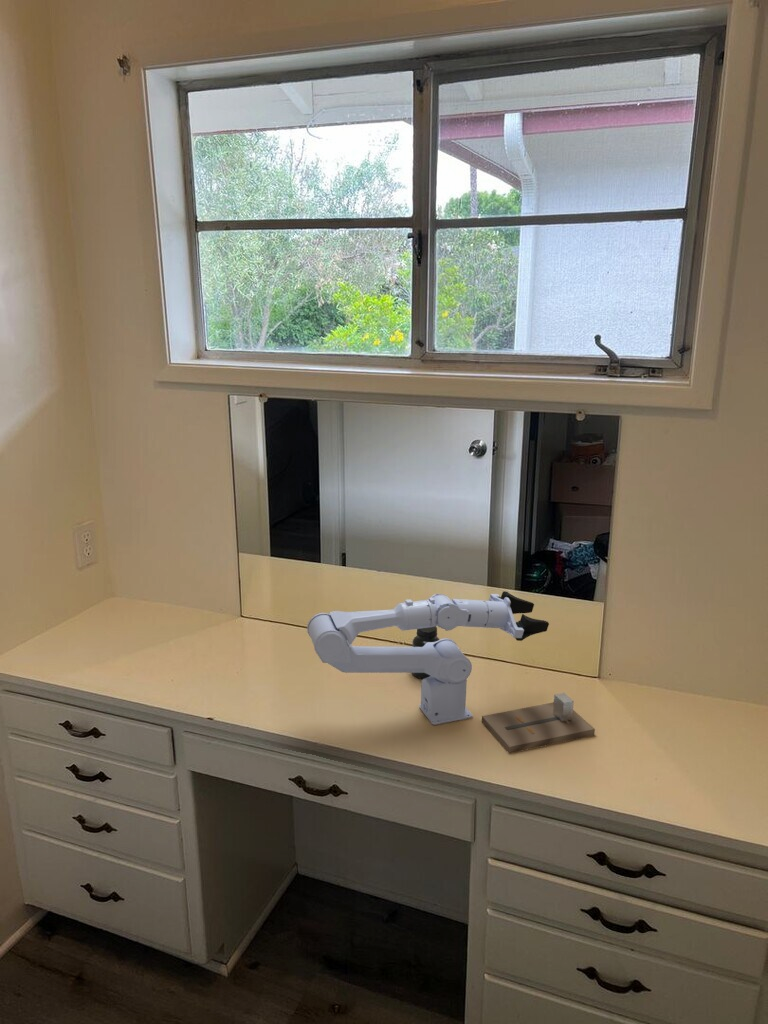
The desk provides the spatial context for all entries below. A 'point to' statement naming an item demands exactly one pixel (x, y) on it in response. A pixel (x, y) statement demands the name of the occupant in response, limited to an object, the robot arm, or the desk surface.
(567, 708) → the fader tab
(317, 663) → the desk surface
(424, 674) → the supplement bottle
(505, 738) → the console board
